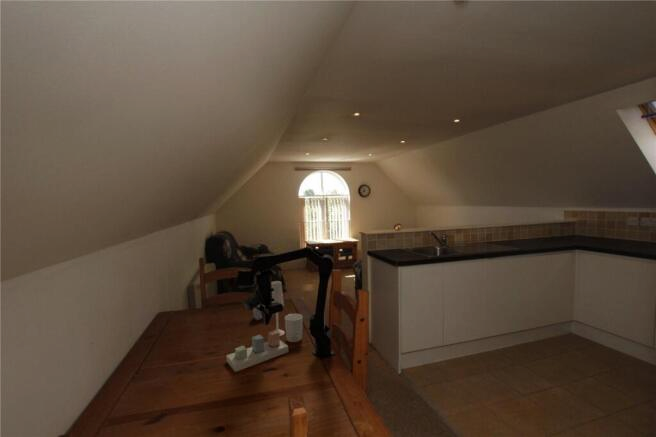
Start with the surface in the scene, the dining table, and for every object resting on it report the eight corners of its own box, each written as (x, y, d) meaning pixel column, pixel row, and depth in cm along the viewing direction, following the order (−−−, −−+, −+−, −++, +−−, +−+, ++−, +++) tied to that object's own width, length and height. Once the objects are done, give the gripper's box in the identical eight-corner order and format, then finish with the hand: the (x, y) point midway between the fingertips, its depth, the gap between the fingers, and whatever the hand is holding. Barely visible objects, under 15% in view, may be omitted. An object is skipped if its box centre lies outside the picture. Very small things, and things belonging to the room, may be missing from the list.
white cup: (300, 343, 126) (299, 320, 126) (282, 342, 128) (282, 319, 127) (305, 335, 134) (304, 314, 133) (288, 334, 135) (288, 313, 135)
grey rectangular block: (264, 350, 116) (263, 337, 115) (255, 352, 113) (255, 340, 113) (260, 346, 118) (259, 334, 118) (252, 349, 116) (251, 337, 116)
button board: (288, 351, 119) (288, 345, 119) (235, 371, 106) (235, 365, 106) (277, 343, 126) (277, 338, 126) (226, 361, 113) (226, 355, 113)
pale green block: (247, 361, 111) (246, 348, 111) (238, 364, 109) (238, 351, 109) (243, 358, 114) (243, 345, 114) (235, 361, 112) (234, 348, 112)
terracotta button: (279, 344, 120) (279, 332, 120) (272, 347, 118) (271, 334, 118) (275, 341, 123) (275, 329, 122) (268, 344, 120) (268, 332, 120)
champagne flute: (286, 334, 135) (284, 283, 134) (271, 337, 133) (269, 285, 131) (283, 329, 141) (281, 279, 140) (269, 331, 139) (267, 281, 138)
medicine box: (266, 314, 161) (265, 298, 161) (270, 316, 158) (270, 300, 157) (253, 318, 156) (252, 302, 155) (257, 320, 153) (256, 304, 152)
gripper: (235, 286, 119) (238, 323, 120) (255, 296, 104) (258, 338, 105) (260, 280, 126) (262, 316, 127) (283, 289, 111) (285, 329, 112)
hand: (266, 324), depth 118 cm, fingers closed
